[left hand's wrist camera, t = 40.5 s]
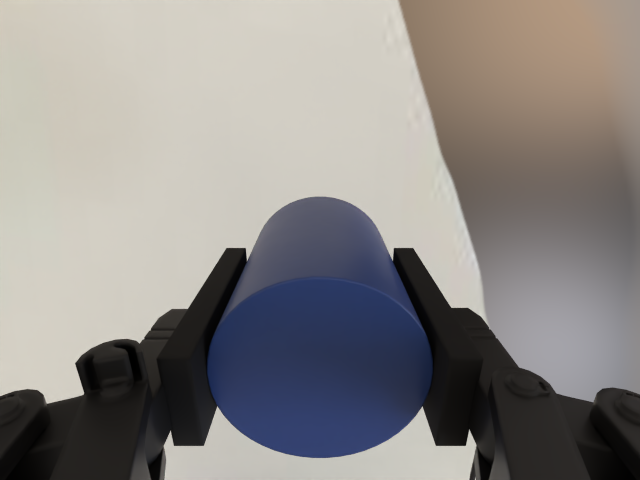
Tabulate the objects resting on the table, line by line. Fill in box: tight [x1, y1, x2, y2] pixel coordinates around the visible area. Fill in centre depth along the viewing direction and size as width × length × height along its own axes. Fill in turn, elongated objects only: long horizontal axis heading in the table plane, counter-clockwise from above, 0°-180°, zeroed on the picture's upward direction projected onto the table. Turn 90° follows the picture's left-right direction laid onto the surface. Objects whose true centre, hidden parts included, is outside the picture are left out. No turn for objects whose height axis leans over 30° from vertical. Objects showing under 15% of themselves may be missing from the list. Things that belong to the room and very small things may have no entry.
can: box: [207, 197, 433, 458], centre depth 13 cm, size 6×6×8 cm
